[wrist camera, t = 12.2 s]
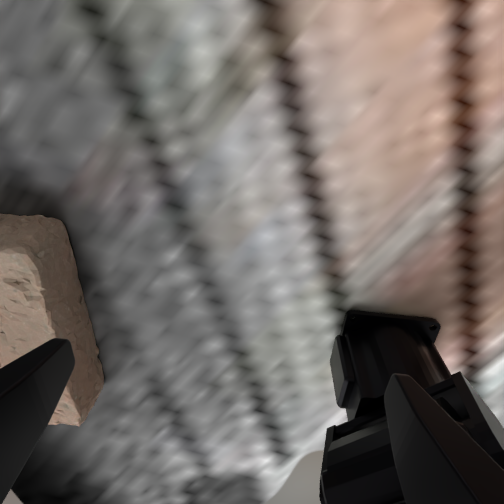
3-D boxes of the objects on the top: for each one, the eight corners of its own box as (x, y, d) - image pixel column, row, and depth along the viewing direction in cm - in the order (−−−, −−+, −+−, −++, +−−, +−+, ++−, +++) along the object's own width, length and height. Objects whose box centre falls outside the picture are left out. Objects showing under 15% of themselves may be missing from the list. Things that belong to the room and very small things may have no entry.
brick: (-48, 206, 23) (-121, 236, 19) (70, 214, 22) (21, 246, 18) (22, 376, 31) (-18, 423, 27) (110, 384, 30) (83, 433, 26)
